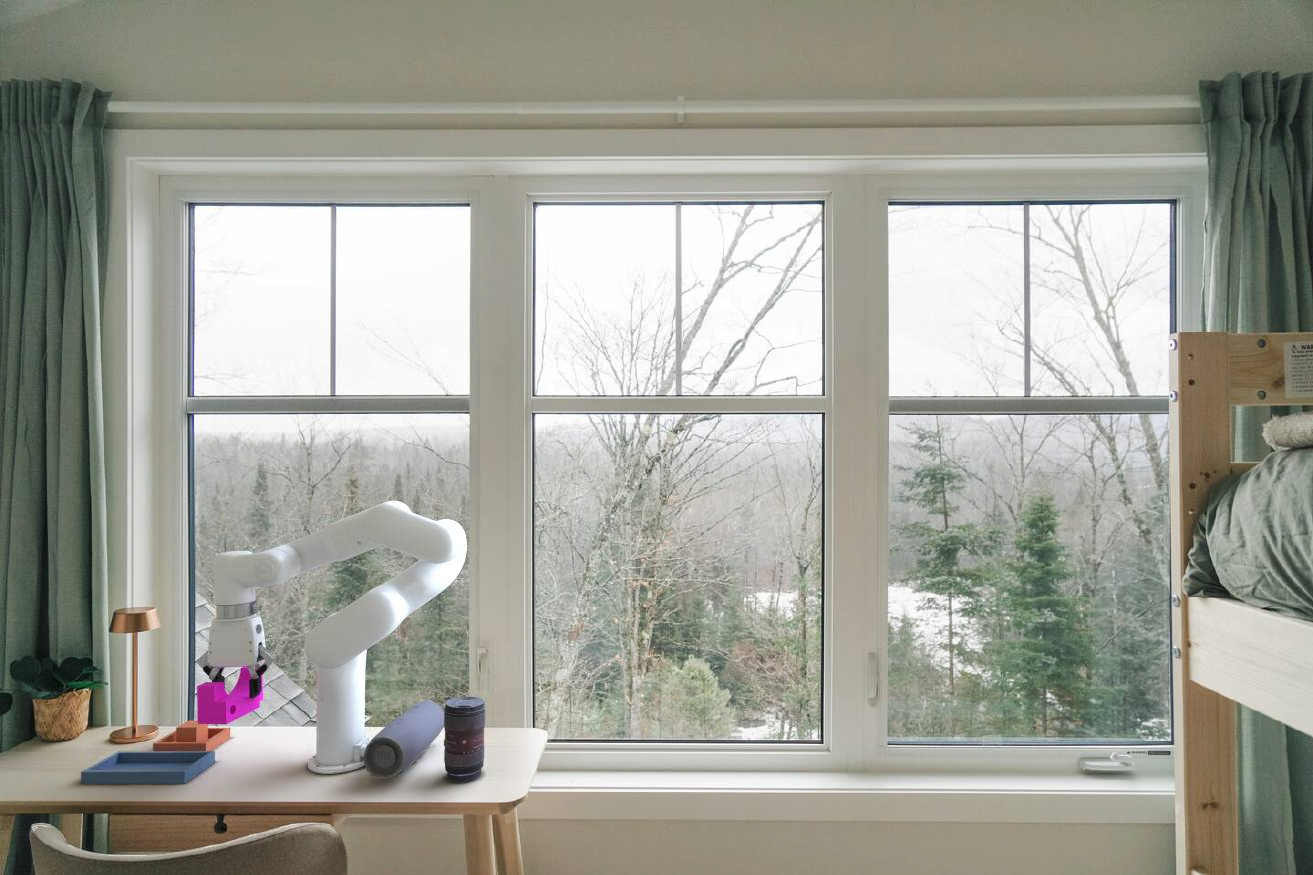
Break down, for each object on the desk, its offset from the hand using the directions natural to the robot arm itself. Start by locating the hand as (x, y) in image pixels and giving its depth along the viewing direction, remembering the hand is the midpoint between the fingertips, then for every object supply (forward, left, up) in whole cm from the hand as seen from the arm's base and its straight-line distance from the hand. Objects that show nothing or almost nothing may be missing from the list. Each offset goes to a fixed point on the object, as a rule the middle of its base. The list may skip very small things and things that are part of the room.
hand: (237, 696), depth 161 cm
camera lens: (-48, +4, -15) cm, 51 cm away
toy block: (0, 0, -3) cm, 3 cm away
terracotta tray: (+17, -12, -15) cm, 25 cm away
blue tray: (+17, +2, -15) cm, 22 cm away
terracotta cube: (+17, -12, -15) cm, 25 cm away
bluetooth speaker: (-34, -3, -15) cm, 38 cm away
